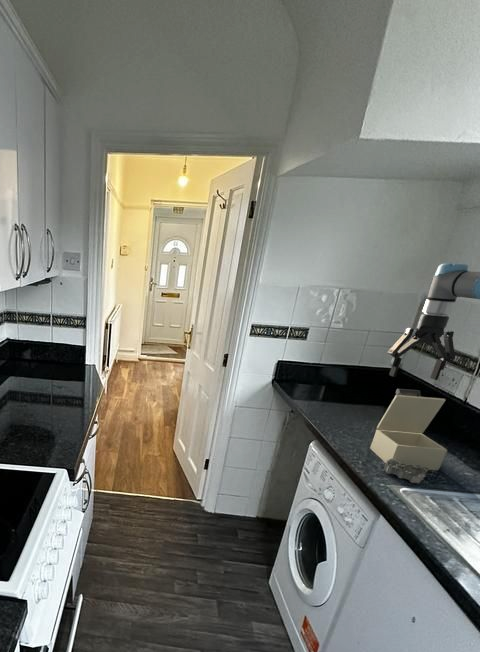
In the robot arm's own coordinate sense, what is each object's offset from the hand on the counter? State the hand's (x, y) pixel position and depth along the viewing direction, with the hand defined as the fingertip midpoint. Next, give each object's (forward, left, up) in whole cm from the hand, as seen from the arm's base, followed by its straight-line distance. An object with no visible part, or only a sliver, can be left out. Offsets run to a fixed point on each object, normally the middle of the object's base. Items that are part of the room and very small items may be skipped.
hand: (412, 377), depth 143 cm
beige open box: (-10, 0, -27) cm, 29 cm away
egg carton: (-23, +7, -27) cm, 36 cm away
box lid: (-6, 0, -12) cm, 13 cm away
